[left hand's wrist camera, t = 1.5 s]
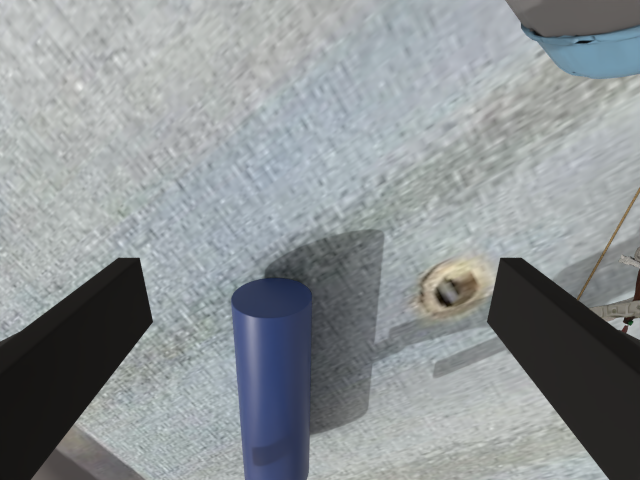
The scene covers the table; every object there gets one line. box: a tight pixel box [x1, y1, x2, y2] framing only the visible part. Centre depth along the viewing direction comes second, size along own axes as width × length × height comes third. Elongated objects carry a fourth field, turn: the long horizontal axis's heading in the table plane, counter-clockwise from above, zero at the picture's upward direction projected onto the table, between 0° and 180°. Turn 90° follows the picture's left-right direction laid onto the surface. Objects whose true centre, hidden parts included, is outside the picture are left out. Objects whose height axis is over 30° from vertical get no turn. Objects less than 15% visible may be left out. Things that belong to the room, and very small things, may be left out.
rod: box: [231, 278, 312, 480], centre depth 43 cm, size 27×9×9 cm, turn 179°
